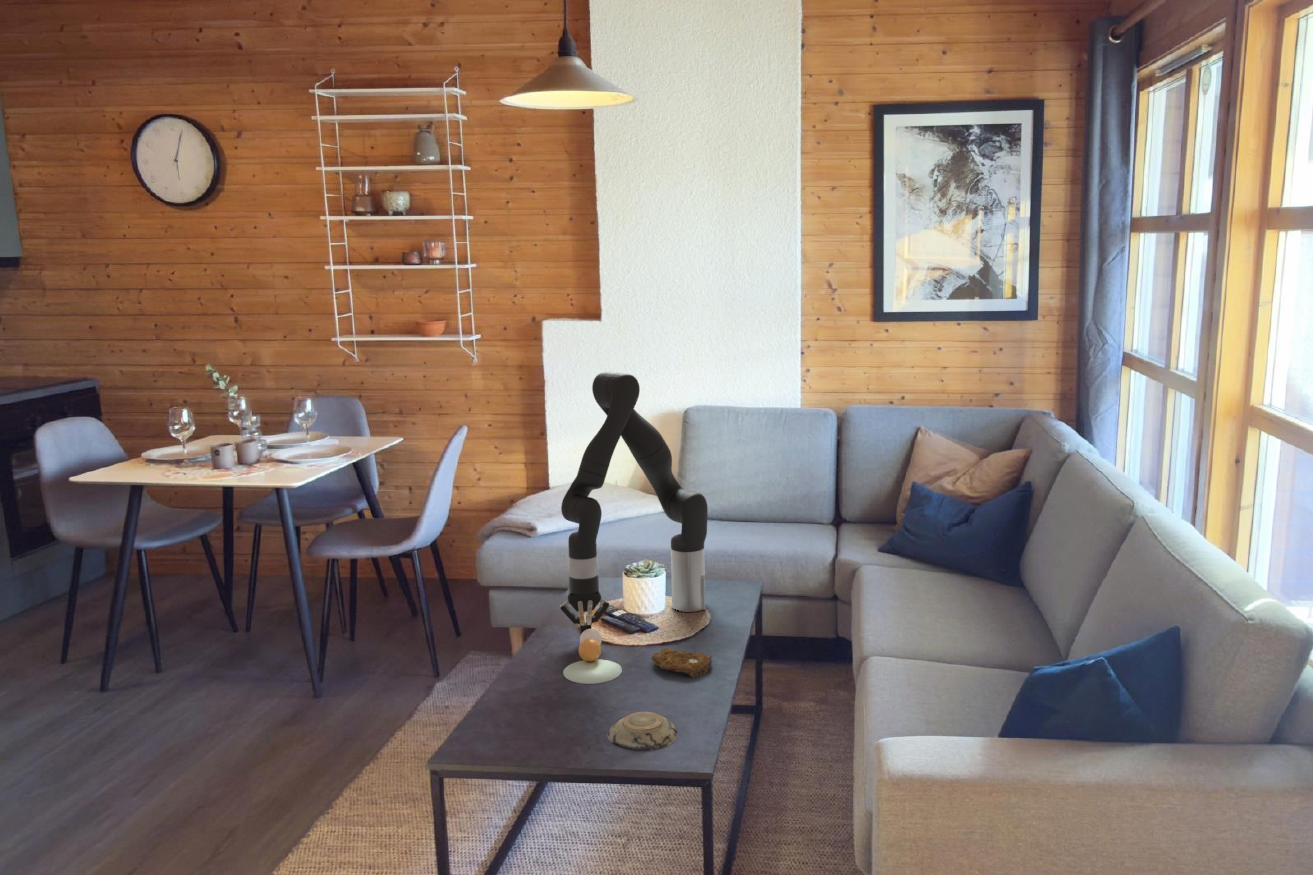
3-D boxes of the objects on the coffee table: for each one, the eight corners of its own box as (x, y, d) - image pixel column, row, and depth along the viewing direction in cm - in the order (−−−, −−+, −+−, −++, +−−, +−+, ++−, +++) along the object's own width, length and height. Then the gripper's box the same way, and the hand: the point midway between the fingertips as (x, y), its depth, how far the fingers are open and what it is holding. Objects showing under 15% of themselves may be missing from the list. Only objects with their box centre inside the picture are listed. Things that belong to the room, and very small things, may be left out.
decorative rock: (643, 677, 249) (704, 685, 245) (642, 661, 248) (704, 669, 244) (657, 656, 260) (716, 664, 256) (657, 640, 259) (716, 648, 255)
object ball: (601, 649, 261) (602, 634, 258) (599, 667, 257) (600, 652, 254) (579, 648, 261) (579, 633, 258) (577, 665, 257) (577, 650, 254)
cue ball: (605, 627, 264) (604, 649, 262) (596, 632, 269) (596, 653, 266) (584, 625, 262) (584, 647, 260) (576, 630, 266) (576, 651, 264)
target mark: (623, 659, 258) (623, 658, 258) (620, 683, 244) (620, 682, 244) (566, 660, 258) (566, 659, 258) (560, 684, 245) (560, 683, 245)
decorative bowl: (600, 726, 225) (616, 758, 210) (599, 710, 224) (615, 740, 210) (667, 717, 229) (687, 747, 214) (667, 701, 228) (687, 730, 214)
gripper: (608, 566, 270) (610, 630, 273) (556, 570, 268) (559, 634, 271) (611, 575, 263) (613, 641, 266) (558, 579, 261) (560, 645, 264)
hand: (585, 637), depth 269 cm, fingers closed
